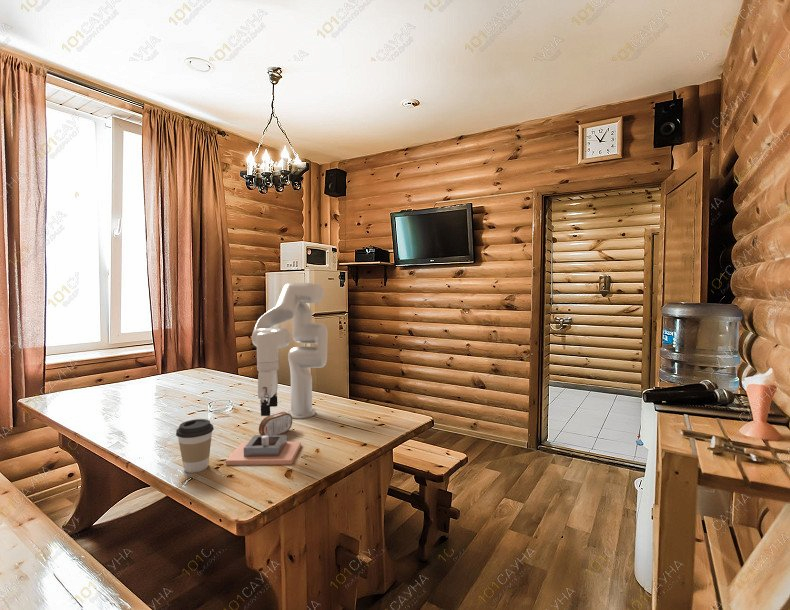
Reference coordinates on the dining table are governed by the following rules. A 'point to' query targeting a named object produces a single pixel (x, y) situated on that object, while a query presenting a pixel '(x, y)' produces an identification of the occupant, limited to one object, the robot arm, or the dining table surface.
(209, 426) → the coffee cup
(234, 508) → the dining table surface
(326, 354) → the robot arm
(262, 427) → the tin
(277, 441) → the grey square frame
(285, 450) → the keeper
